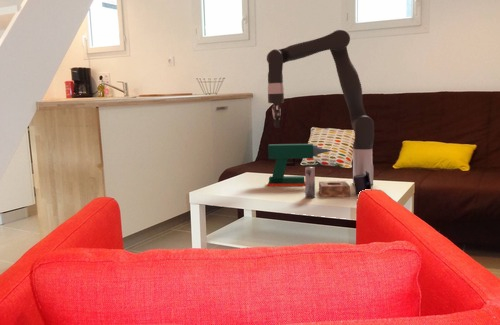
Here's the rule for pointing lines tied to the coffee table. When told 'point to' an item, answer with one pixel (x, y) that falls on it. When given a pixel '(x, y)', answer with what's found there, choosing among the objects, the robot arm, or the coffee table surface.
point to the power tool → (282, 155)
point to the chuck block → (334, 188)
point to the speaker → (362, 182)
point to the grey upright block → (309, 182)
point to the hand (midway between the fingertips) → (276, 127)
